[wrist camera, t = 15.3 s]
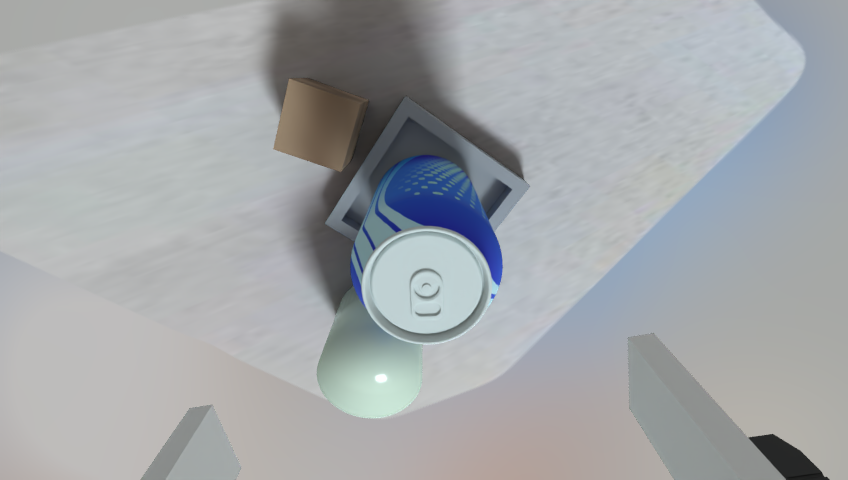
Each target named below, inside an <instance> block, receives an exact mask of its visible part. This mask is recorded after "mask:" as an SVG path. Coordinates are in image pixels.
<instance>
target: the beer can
mask: <svg viewBox="0 0 848 480" xmlns="http://www.w3.org/2000/svg"><path fill="white" fill-rule="evenodd" d="M502 268H503V267H502V254H501V249H500V245H499V243H498V240H497V237H496V235H495V233H494V231H493V229H492V226H491V224H490V222H489V220H488V218H487V215H486V213H485V211H484V209H483V206H482V204H481V202H480V200H479V198H478V195H477V193H476V191H475V189H474V187H473V184H472V182H471V180H470V179H469V177H468V176H467V175H466V173H465V172H464V171H463V170H462V169H461V168H460V167H459V166H457V165H456V164H454V163H453V162H451V161H449V160H447V159H445V158H442V157H438V156H433V155H418V156H413V157H409V158H406V159H404V160H402V161H400V162H398V163H397V164H395V165H394V166H393V167H391V168H390V169H389V170H388V171H387V172H386V173H385V175H384V176H383V177H382V179H381V180H380V182H379V184H378V187H377V189H376V191H375V194H374V196H373V199H372V201H371V204H370V206H369V208H368V211H367V213H366V216H365V218H364V220H363V223H362V225H361V228H360V230H359V232H358V235H357V237H356V240H355V242H354V245H353V249H352V253H351V262H350V270H351V278H352V282H353V286H354V288H355V291H356V293H357V295H358V297H359V299H360V301H361V302H362V304H363V305H364V307H365V308H366V309H367V311H368V313H369V314H370V316H371V317H372V319H373V320H374V321H375V322H376V323H377V324H378V325H379V327H381V328H382V329H383V330H384V331H386V332H387V333H389V334H390V335H392V336H394V337H396V338H398V339H400V340H403V341H406V342H410V343H415V344H438V343H443V342H447V341H450V340H453V339H455V338H457V337H459V336H461V335H463V334H465V333H466V332H468V331H469V330H470V329H471V328H473V327H474V326H475V325H476V324H477V323H478V321H479V320H480V319H481V318H482V316H483V315H484V313H485V311H486V309H487V307H488V306H489V305H490V303H491V302H492V300H493V299H494V297H495V295H496V293H497V290H498V288H499V285H500V282H501V277H502Z"/></svg>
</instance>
